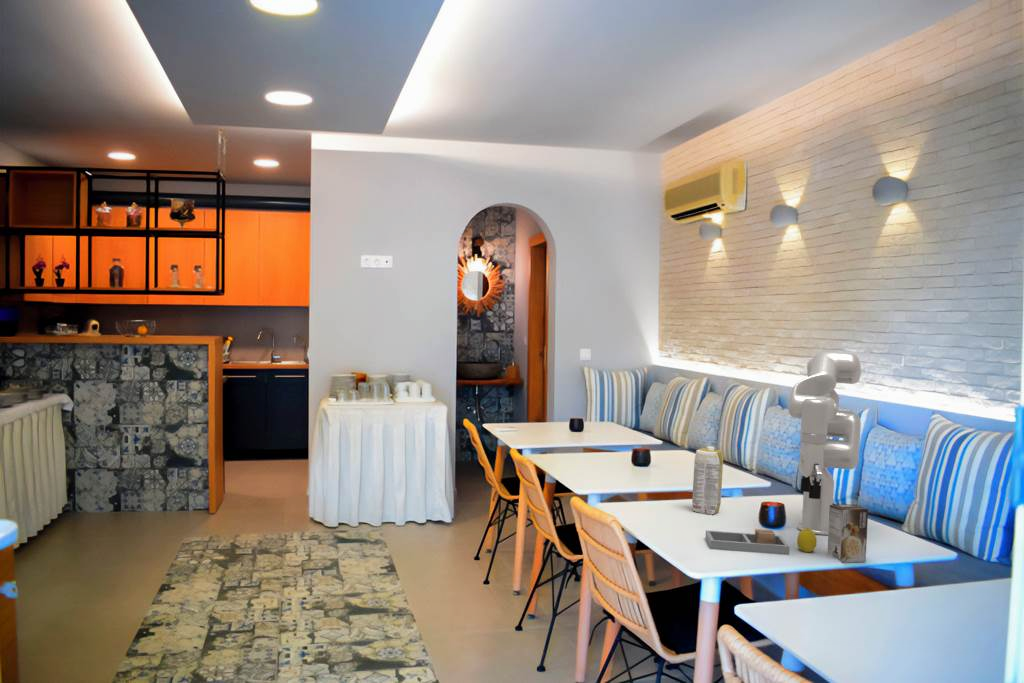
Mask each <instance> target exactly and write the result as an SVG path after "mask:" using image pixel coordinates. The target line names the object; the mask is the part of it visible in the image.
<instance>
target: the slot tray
mask: <svg viewBox="0 0 1024 683" xmlns="http://www.w3.org/2000/svg"><path fill="white" fill-rule="evenodd" d="M704 538H705V541H706V543H707V545H708V547H709V548H710V550H718V551H719V550H720V551H732V552H742V553H743V552H746V553H758V554H769V555H771V554H772V555H773V554H774V555H784V556H785V555H787V556H789V555H790V545H789V544H788V543H787V542H786V541H785V539H784V538H783V537H782V536H781V535H776V534H775V545H774V544H761V543H755V533H746V532H745V533H744V532H733V531H732V532H731V531H719V530H708V529H707V530H705V537H704Z"/></svg>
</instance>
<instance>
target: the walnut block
mask: <svg viewBox="0 0 1024 683" xmlns="http://www.w3.org/2000/svg"><path fill="white" fill-rule="evenodd" d="M754 530H755V531H754V534H755V543H761V544H774V545H775V535H776V533H775V532H774V530H772V529H763V528H755V529H754Z"/></svg>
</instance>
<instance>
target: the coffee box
mask: <svg viewBox="0 0 1024 683" xmlns="http://www.w3.org/2000/svg"><path fill="white" fill-rule="evenodd" d="M868 516H869V508H867V507H863V506H860V505H858V504H857V505H856V504H833V505H830V511H829V532H828V535H827V536H828V538H827V555H828V556H831V557H832V558H833V557H834V558H835V559H836V560H838V561H839V562H840V564H841V563H842V564H844V563H847V564H848V563H862V562H863V563H864V562H866V560H867V544H868V543H867V538H868V523H869V522H868V521H869V519H868V518H869V517H868Z"/></svg>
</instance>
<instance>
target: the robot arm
mask: <svg viewBox="0 0 1024 683" xmlns="http://www.w3.org/2000/svg"><path fill="white" fill-rule="evenodd" d="M861 367H862V366H861V363H860V360H859V357H858V356H857V355H856V354H855V353H853V352H846V351H843V352H842V351H826V350H824V351H821V352H817V353H816V354H815V355H814V357H813V358H812V359H810V360H808V362H807V364H806V371H807V372H806V373H807V376H806V377H805V378H802V379H801V380H800V381H798V382H796V383H795V384H794V385H793V387H792V389H791V391H790V395H789V399H788V406H787V407H788V408H787V409H788V410H787V411H788V413H789V415H790V416H791V417H792V418H794V419H801V422H800V439H799V443H800V444H801V445H800V453H799V462H798V472H799V474H801V478H800V491H801V492H803V494H802V495H803V497H802V500H803V501H802V512H801V515H802V516H801V522H798V523H797V524H796V529H797V530H799V531H802V530H804V529H806V528H809V530H811V531H813V532H814V534H815V535H822V536H828V532H829V511H830V505H834V503H833V502H834V490H835V480H834V477H833V475H832V474H831V473H830V471H829V470H828V468H832V469H834V468H835V469H841V470H854V469H856V468H857V466H858V464H859V459H860V458H859V457H860V446H861V444H860V442H861V430H862V429H861V428H862V426H861V424H862V423H861V418H860V416H859V414H858V413H857V412H855V411H852V410H844V409H839V406H840V404H839V403H840V397H839V394H838V393H837V391H836V390H835V388H836V387H837V384H850V385H854V384H857V383H858V382H859V380H860V378H861V375H862V368H861ZM833 438H838V439H833Z"/></svg>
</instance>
